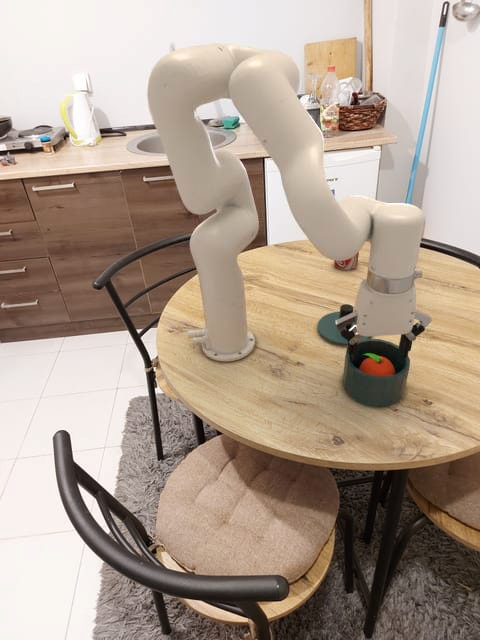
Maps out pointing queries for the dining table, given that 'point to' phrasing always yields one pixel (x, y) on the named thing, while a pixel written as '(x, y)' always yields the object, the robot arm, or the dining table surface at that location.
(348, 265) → the soda can
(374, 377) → the pot
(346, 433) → the dining table surface
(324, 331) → the pot lid
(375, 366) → the clementine
